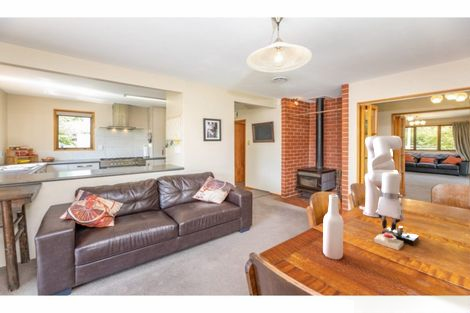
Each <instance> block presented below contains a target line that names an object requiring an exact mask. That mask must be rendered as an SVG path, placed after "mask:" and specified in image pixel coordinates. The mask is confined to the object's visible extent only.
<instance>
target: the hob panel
mask: <svg viewBox="0 0 470 313" xmlns="http://www.w3.org/2000/svg"><path fill="white" fill-rule="evenodd" d="M385 233H391V234H393V236H395V237H396V239H397V240H401V241H403V245H408V246H412V247H414V246H415V245H416V244H417V243H418V241H419V234H415V233H412V232H408V231H404V230H403V233H402V234H401V235H399V234H397V228H396V229H395V230H394V231H392V230H391V226H390V227H389V226H387V227H386V228H385V229H383V230H382V231H381V234H385Z"/></svg>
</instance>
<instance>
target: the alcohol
mask: <svg viewBox="0 0 470 313" xmlns="http://www.w3.org/2000/svg"><path fill="white" fill-rule="evenodd" d="M328 199H329V200H328V209H327V213H325V215H324V216H323V224H322V226H323V229H322V230H323V233H322V234H323V236H322V253H323V254H324V256H325V257H326V258H328V259H331V260H340V259H342V258H343V256H344V223H345V222H344V218H343V217H342V216H341V214H340V210H339V209H340V208H339V194H335V193H330V194H329V195H328Z"/></svg>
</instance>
